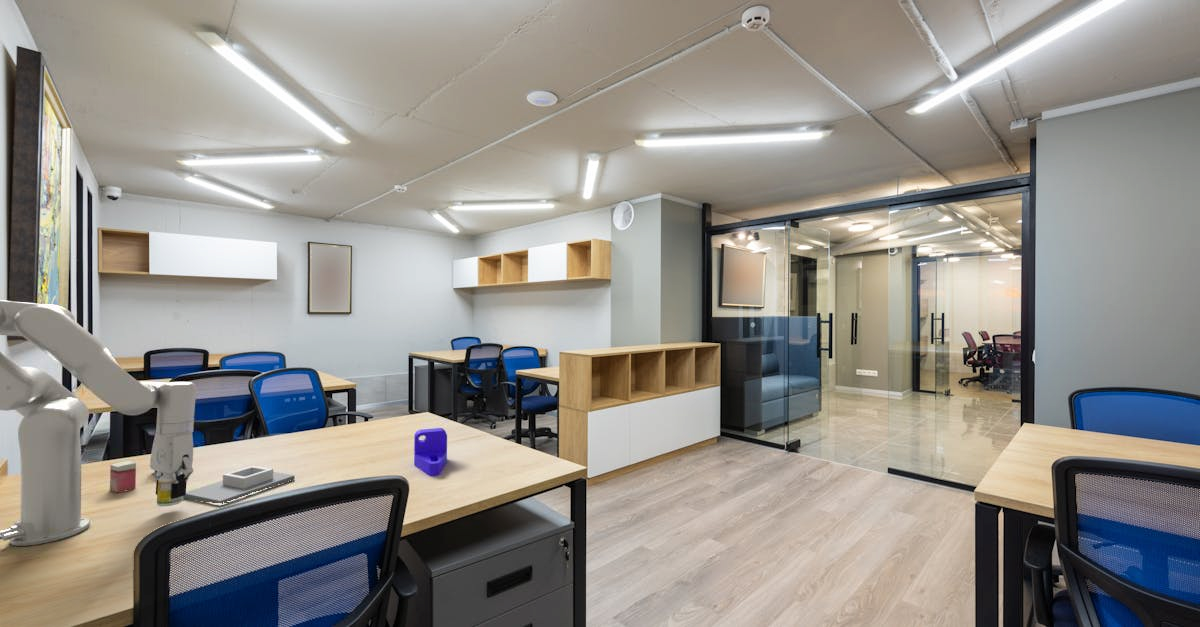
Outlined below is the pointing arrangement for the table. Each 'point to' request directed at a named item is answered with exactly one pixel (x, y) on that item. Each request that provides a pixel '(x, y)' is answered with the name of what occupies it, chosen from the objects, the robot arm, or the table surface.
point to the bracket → (430, 450)
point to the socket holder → (238, 485)
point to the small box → (122, 476)
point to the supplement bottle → (166, 491)
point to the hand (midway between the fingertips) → (170, 494)
